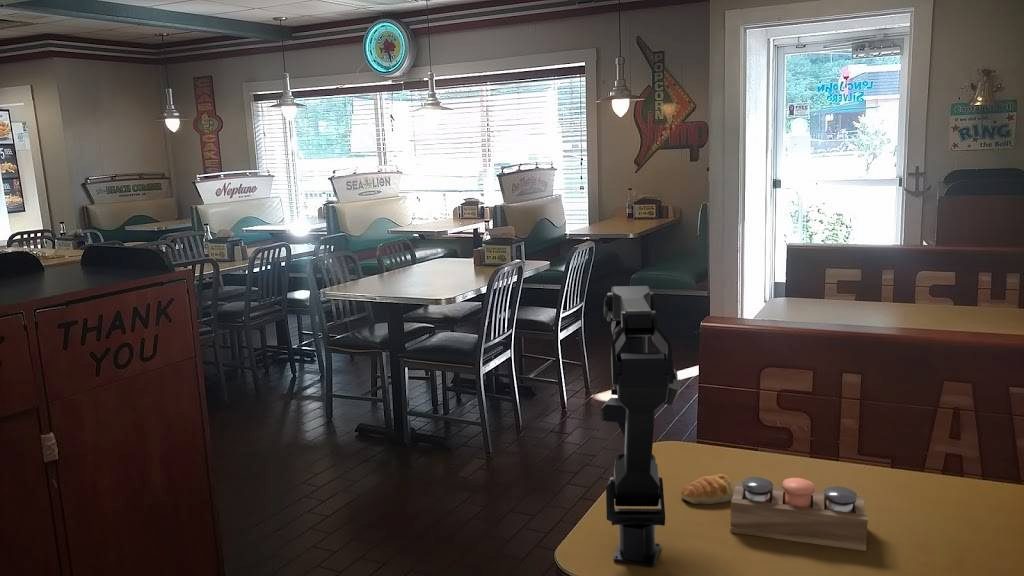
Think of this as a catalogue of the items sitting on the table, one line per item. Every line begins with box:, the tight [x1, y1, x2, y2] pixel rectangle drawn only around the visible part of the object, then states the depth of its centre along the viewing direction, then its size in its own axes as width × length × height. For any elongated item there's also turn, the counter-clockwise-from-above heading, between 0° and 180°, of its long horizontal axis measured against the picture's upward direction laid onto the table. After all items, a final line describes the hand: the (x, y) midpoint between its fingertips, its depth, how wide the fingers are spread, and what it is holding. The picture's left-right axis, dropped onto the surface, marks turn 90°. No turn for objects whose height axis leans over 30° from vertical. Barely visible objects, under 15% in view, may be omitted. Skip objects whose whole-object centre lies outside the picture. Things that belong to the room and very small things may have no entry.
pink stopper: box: [782, 477, 815, 508], centre depth 133 cm, size 5×5×6 cm
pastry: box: [680, 473, 734, 505], centre depth 146 cm, size 9×7×4 cm
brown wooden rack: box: [729, 481, 868, 552], centre depth 134 cm, size 9×21×5 cm, turn 70°
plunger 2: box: [823, 485, 858, 513], centre depth 131 cm, size 5×5×6 cm
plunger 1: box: [742, 476, 774, 503], centre depth 136 cm, size 5×5×6 cm
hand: (630, 443), depth 140 cm, fingers closed
